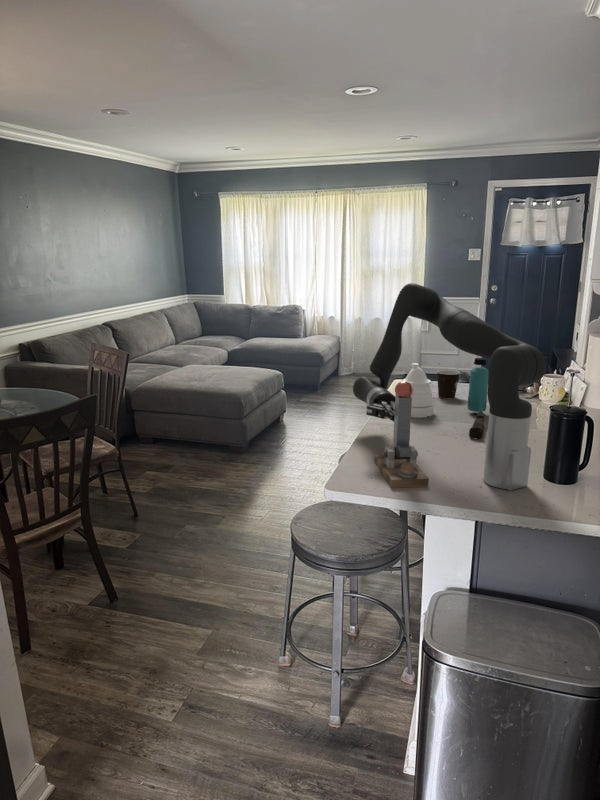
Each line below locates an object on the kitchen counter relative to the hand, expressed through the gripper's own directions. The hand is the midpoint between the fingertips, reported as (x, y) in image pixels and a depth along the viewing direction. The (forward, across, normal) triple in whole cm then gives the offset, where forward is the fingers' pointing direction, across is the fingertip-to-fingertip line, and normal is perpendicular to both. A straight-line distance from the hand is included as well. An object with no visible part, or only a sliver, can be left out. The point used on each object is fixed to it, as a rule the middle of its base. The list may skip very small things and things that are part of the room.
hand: (397, 418), depth 139 cm
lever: (+6, 0, +9) cm, 11 cm away
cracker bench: (+5, 0, +13) cm, 14 cm away
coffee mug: (-74, +39, +13) cm, 85 cm away
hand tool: (-29, +34, +13) cm, 47 cm away
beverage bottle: (-49, +42, +13) cm, 66 cm away
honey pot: (-52, +21, +13) cm, 58 cm away
